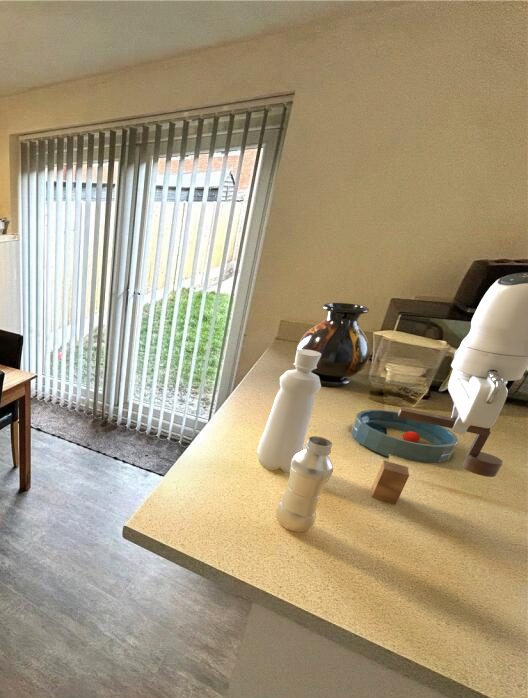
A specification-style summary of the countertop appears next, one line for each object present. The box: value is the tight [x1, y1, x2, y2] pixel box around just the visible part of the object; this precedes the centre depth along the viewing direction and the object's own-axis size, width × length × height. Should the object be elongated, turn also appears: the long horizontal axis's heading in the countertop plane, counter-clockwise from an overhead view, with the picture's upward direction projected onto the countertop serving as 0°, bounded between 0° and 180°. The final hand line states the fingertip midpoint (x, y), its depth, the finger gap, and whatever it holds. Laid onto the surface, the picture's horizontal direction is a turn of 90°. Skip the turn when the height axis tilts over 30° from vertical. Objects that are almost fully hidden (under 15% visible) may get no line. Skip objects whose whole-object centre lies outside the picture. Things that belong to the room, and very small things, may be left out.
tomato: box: [402, 431, 421, 443], centre depth 105 cm, size 3×3×3 cm
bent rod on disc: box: [398, 406, 504, 478], centre depth 79 cm, size 16×5×9 cm, turn 50°
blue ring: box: [350, 409, 459, 463], centre depth 105 cm, size 20×20×6 cm
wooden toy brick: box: [371, 459, 410, 505], centre depth 86 cm, size 4×4×8 cm
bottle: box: [256, 349, 322, 474], centre depth 93 cm, size 9×9×30 cm
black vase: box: [294, 302, 371, 388], centre depth 142 cm, size 22×22×28 cm
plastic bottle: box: [275, 435, 334, 533], centre depth 76 cm, size 6×7×20 cm
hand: (456, 428), depth 78 cm, fingers closed on bent rod on disc
